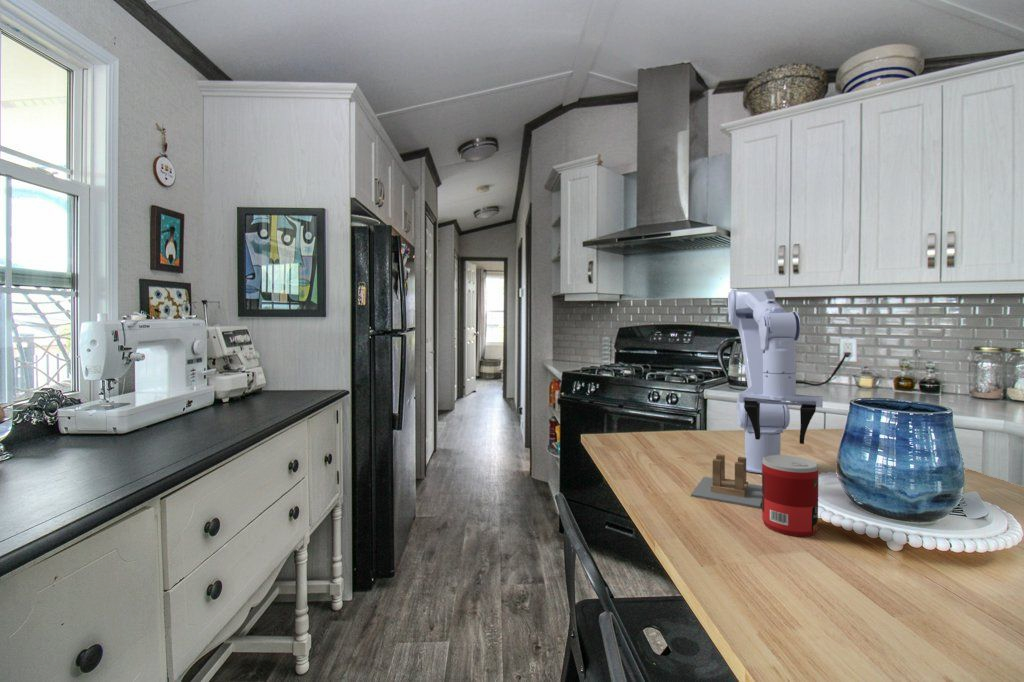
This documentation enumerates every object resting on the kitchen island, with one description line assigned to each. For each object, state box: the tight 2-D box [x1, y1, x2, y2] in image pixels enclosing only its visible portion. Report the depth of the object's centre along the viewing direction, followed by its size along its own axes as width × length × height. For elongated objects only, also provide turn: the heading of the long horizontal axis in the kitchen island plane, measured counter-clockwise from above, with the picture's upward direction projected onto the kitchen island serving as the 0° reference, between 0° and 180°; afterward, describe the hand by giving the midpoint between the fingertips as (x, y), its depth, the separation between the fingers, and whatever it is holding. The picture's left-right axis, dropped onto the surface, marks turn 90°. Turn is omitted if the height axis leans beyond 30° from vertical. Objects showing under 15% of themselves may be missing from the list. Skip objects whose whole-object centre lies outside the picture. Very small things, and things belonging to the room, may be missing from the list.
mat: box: [690, 476, 762, 509], centre depth 95 cm, size 12×12×1 cm
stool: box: [711, 453, 749, 497], centre depth 95 cm, size 6×6×6 cm
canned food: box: [761, 454, 819, 537], centre depth 79 cm, size 8×8×11 cm
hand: (779, 440), depth 95 cm, fingers open, 7 cm apart
